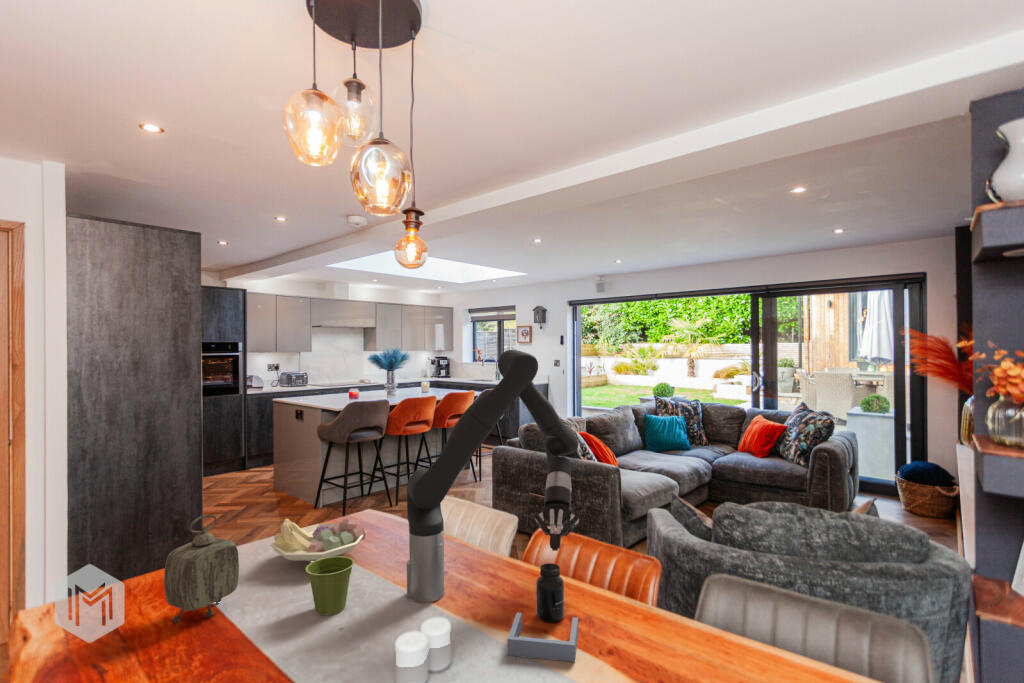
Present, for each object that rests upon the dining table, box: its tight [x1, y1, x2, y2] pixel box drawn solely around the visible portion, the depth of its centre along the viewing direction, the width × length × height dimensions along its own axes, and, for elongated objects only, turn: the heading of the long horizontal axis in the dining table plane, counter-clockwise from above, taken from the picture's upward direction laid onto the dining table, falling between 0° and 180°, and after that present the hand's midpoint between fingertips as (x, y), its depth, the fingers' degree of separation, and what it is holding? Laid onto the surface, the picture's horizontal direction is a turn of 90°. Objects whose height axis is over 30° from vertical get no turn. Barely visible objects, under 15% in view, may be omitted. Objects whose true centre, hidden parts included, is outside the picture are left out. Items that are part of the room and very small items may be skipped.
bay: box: [506, 612, 579, 663], centre depth 114 cm, size 14×11×4 cm
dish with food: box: [270, 518, 368, 562], centre depth 162 cm, size 28×28×14 cm
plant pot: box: [305, 555, 355, 616], centre depth 131 cm, size 12×12×11 cm
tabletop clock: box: [163, 513, 240, 624], centre depth 129 cm, size 14×9×25 cm, turn 154°
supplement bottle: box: [535, 562, 565, 623], centre depth 126 cm, size 7×7×12 cm
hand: (554, 549), depth 137 cm, fingers closed
